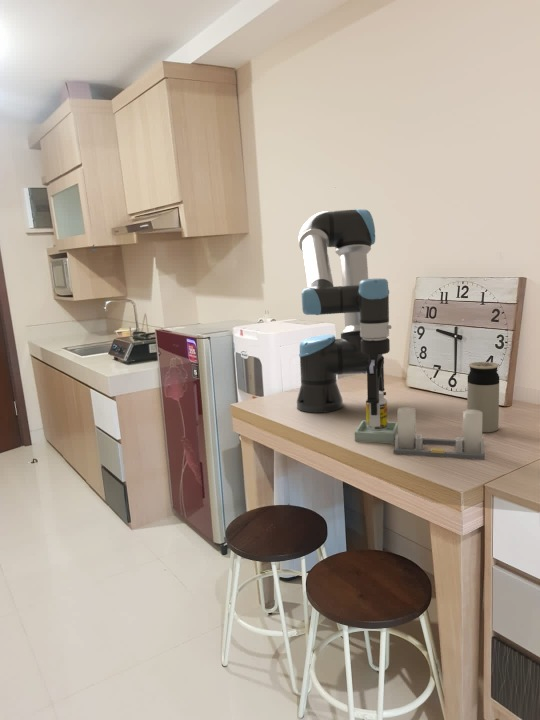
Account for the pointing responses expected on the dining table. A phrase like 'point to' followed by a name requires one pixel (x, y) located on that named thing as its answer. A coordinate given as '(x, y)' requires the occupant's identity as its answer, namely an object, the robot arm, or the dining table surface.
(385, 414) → the supplement bottle
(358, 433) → the tray
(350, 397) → the dining table surface
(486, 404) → the travel mug
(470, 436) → the twin cylinder holder
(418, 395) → the dining table surface
